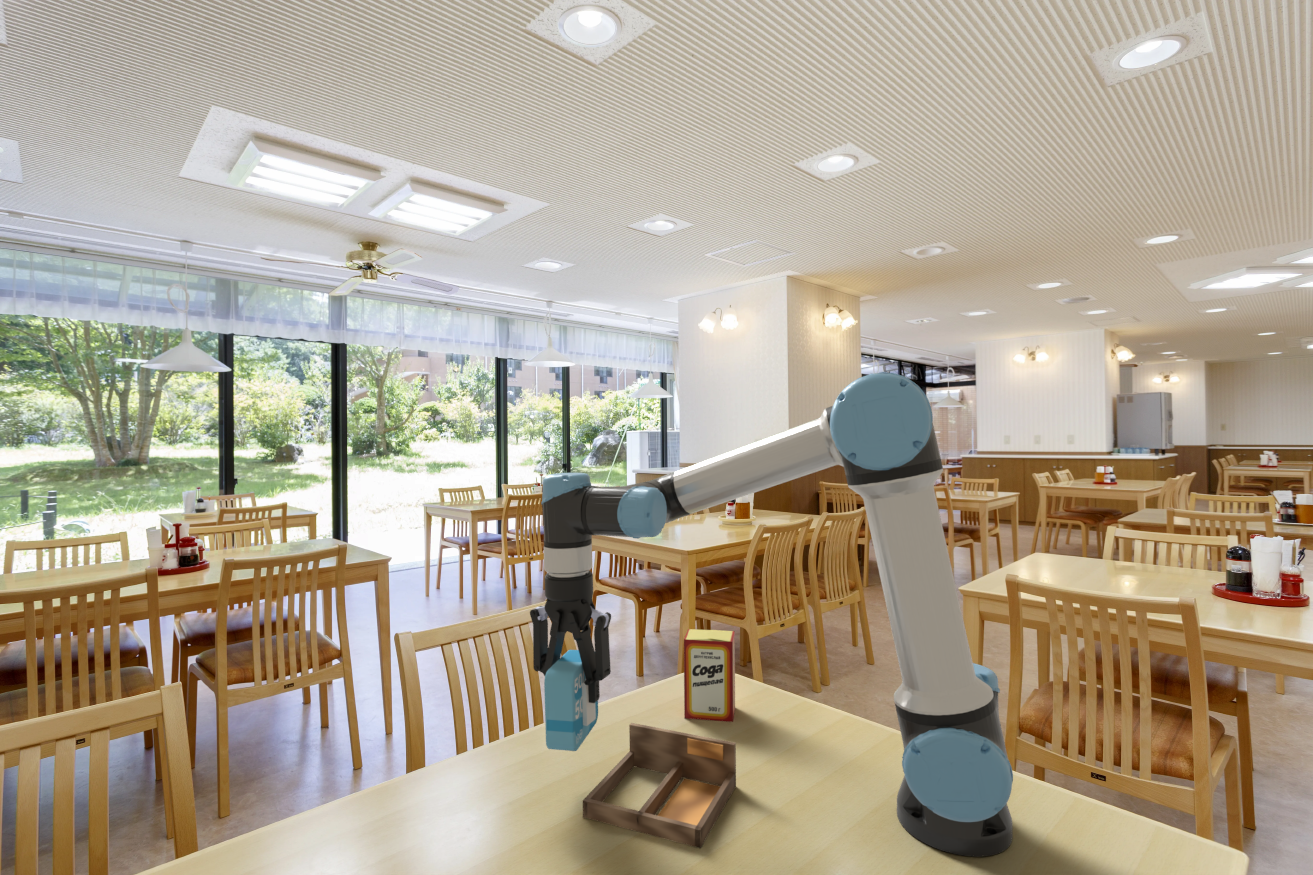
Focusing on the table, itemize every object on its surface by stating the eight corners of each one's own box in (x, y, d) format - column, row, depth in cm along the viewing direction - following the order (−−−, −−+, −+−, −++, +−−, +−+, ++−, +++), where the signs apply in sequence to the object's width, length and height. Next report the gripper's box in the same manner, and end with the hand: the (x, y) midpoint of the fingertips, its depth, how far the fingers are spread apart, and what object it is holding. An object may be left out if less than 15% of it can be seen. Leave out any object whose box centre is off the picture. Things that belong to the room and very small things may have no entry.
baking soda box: (684, 718, 129) (683, 637, 129) (688, 704, 136) (688, 627, 135) (733, 721, 128) (732, 639, 127) (735, 707, 134) (734, 629, 134)
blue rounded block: (574, 755, 97) (572, 674, 97) (545, 752, 98) (543, 673, 98) (598, 719, 109) (596, 647, 109) (573, 718, 110) (571, 646, 110)
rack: (736, 786, 105) (735, 742, 105) (700, 848, 90) (699, 797, 90) (631, 763, 112) (631, 722, 112) (582, 816, 97) (582, 769, 97)
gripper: (631, 570, 103) (635, 717, 103) (533, 563, 110) (537, 701, 111) (609, 580, 96) (613, 739, 96) (506, 572, 103) (510, 719, 104)
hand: (572, 718), depth 104 cm, fingers closed on blue rounded block, 5 cm apart
